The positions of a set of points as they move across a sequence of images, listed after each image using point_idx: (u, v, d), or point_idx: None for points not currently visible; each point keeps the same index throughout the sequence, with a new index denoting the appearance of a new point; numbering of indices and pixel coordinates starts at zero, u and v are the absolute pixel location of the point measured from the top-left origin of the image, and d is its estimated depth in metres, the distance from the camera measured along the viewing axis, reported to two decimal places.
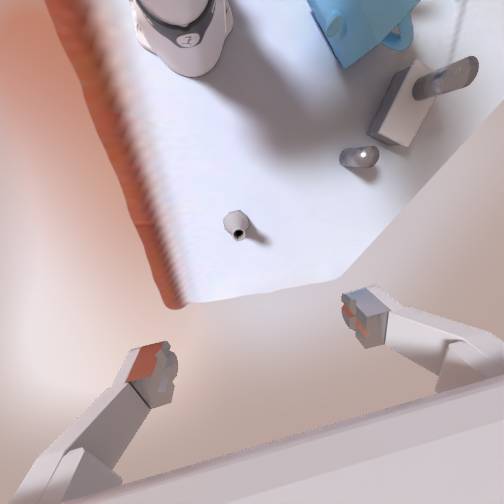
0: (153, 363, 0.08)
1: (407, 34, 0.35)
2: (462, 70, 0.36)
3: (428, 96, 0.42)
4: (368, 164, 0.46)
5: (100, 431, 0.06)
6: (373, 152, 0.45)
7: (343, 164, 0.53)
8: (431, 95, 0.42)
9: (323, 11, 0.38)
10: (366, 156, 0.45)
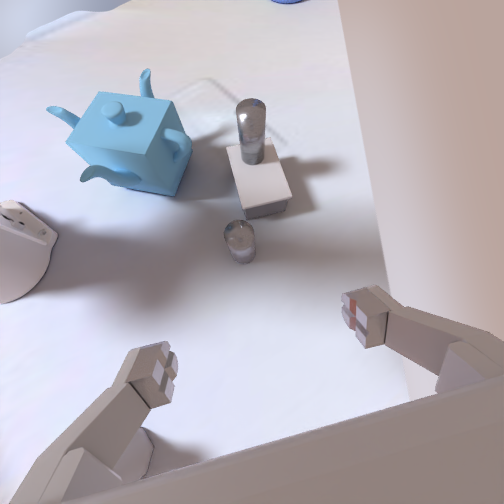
0: (153, 363, 0.08)
1: (176, 136, 0.33)
2: (244, 110, 0.30)
3: (255, 151, 0.34)
4: (244, 241, 0.29)
5: (100, 431, 0.06)
6: (239, 226, 0.30)
7: (241, 262, 0.36)
8: (256, 148, 0.34)
9: None
10: (233, 235, 0.29)
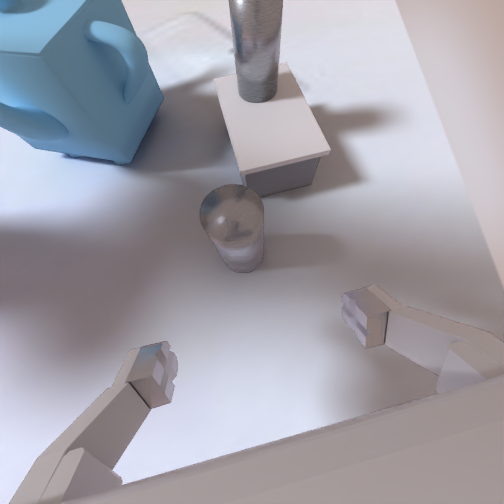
0: (153, 363, 0.08)
1: (112, 32, 0.17)
2: None
3: (263, 68, 0.19)
4: (243, 227, 0.13)
5: (100, 431, 0.06)
6: (231, 197, 0.14)
7: (239, 270, 0.21)
8: (264, 61, 0.18)
9: None
10: (219, 216, 0.14)
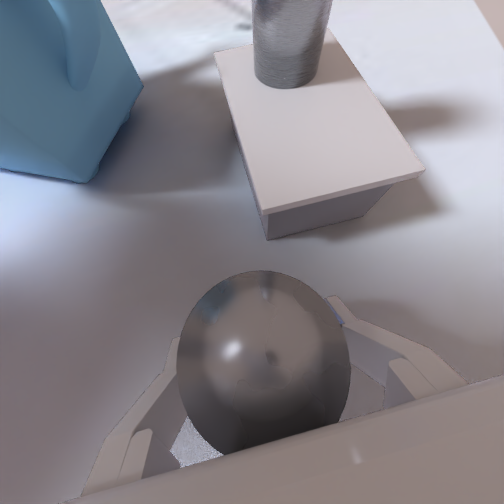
0: None
1: None
2: None
3: (305, 20, 0.10)
4: (299, 416, 0.05)
5: (159, 415, 0.06)
6: (261, 309, 0.05)
7: None
8: (310, 6, 0.10)
9: None
10: (229, 371, 0.05)
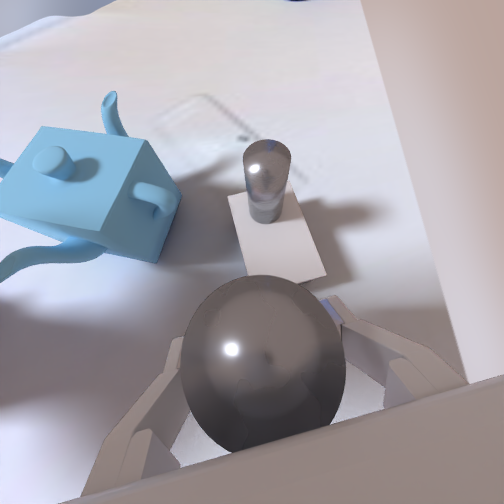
0: None
1: (151, 194, 0.21)
2: (256, 161, 0.18)
3: (271, 211, 0.23)
4: (297, 413, 0.05)
5: (158, 415, 0.06)
6: (260, 312, 0.06)
7: None
8: (272, 208, 0.23)
9: None
10: (230, 371, 0.05)
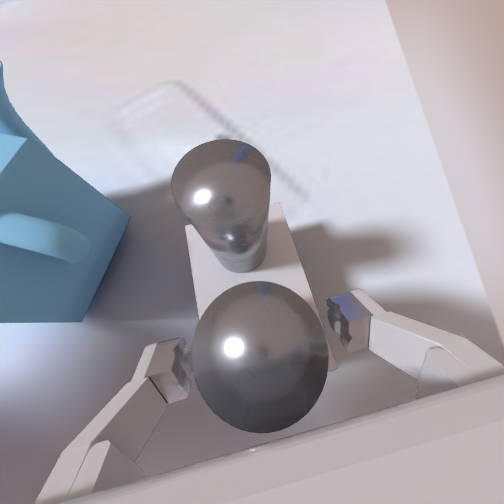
0: (171, 358, 0.08)
1: (25, 237, 0.12)
2: (198, 185, 0.09)
3: (244, 261, 0.14)
4: (288, 395, 0.06)
5: (122, 425, 0.06)
6: (258, 312, 0.07)
7: None
8: (246, 258, 0.13)
9: None
10: (233, 361, 0.06)
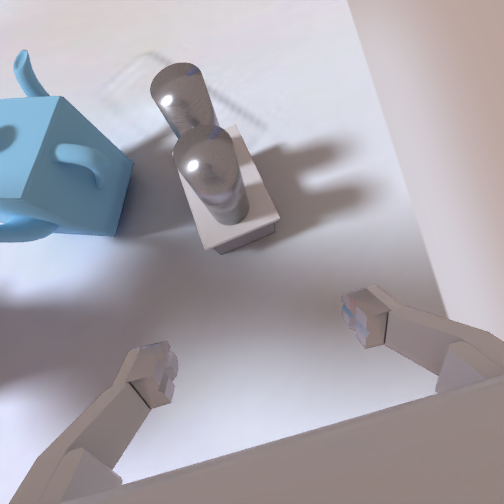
0: (153, 363, 0.08)
1: (74, 154, 0.20)
2: (164, 89, 0.16)
3: None
4: (216, 163, 0.14)
5: (100, 431, 0.06)
6: (201, 137, 0.14)
7: (228, 222, 0.21)
8: None
9: None
10: (192, 157, 0.14)
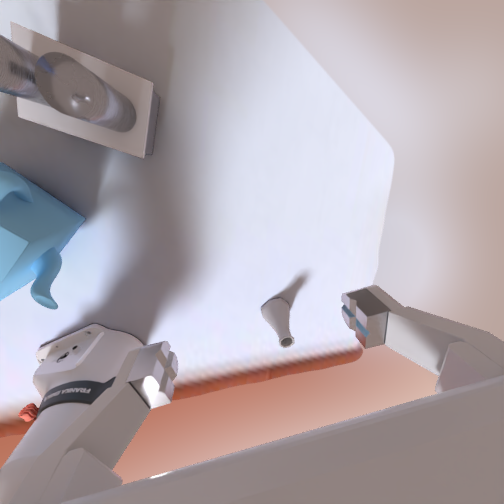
0: (153, 363, 0.08)
1: None
2: None
3: None
4: (84, 85, 0.17)
5: (100, 431, 0.06)
6: (50, 76, 0.17)
7: (131, 123, 0.25)
8: None
9: None
10: (68, 98, 0.17)
